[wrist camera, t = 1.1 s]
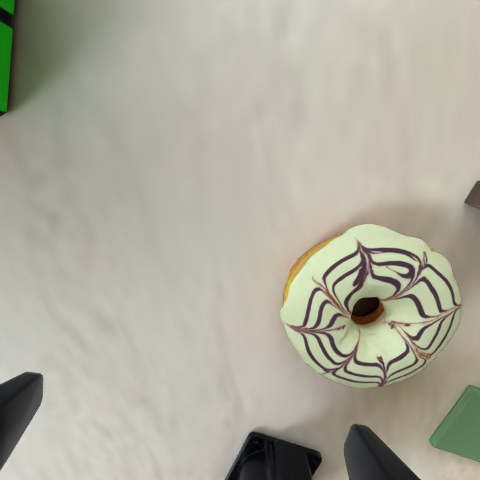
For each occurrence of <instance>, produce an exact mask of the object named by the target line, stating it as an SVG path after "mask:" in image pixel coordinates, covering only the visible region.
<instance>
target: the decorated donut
mask: <svg viewBox="0 0 480 480" xmlns="http://www.w3.org/2000/svg"><path fill="white" fill-rule="evenodd" d="M364 297H368V298H370V297H378V299H379V307H378V308H377V310H375V311H373V312H372V313H370V314H368V315H366V316H362V317H361V316H360V317H357V316H353V315H351V314H352V310H353V306H354V305H355V303H356V302H357V301H358V300H359V299H361V298H364ZM461 305H462V302H461V294H460V291H459V288H458V284H457V282H456V280H455V277H454V275H453V272H452V268H451V264H450V263H449V261H448V260H447V259H446V258H445V257H444V256H443V255H442V254H439V253H436V252H435V251H434V250H432V249H431V248H429V247H428V246H427V244H426V243H425V242H424V241H423V240H422V239H418V238H414V237H409V236H405V235H402V234H400V233H398V232H395V231H392V230H390V229H388V228H386V227H384V226H378V225H374V224H363V225H358V226H355V227H353V228H350V229H348V230H347V231H346V232H345V233H343V234H340V235H336V236H334V237H332V238H330V239H328V240H325V241H323V242H322V243H319V244H318V245H316V246H315V247H313V248H311V249H310V250H309V251H307V252H306V253H305V254H304V255H302V256H301V257H300V258H299V259H298V260H297V262H296V264H295V265H294V266H293V267H292V268H291V271H290V274H289V277H288V280H287V282H286V285H285V288H284V293H283V308H282V309H281V311H280V316H281V319H282V321H283V324H284V326H285V329H286V332H287V335H288V338H289V340H290V341H291V343H292V344H293V346H294V348H295V349H297V351H298V353H299V354H300V356H301V357H302V358H303V359H304V360H305V362H306V363H307V364H308V365H309V366H310V367H312V368H313V369H314V370H315V371H317V372H318V373H319V374H321V375H323V376H325V377H327V378H329V379H331V380H333V381H335V382H337V383H341V384H344V385H348V386H350V387H354V388H368V387H381V386H387V385H390V384H392V383H396V382H400V381H403V380H405V379H407V378H409V377H411V376H412V375H414V374H416V373H418V372H420V371H422V370H423V369H424V368H425V367H426V366H428V364H429V363H430V362H431V361H432V360H433V359H434V358H435V357H436V356H437V355H438V353H439V352H440V351H441V350H442V349H443V348H444V347H445V345H446V344H447V343H448V342H449V340H450V339H451V338H452V336H453V335H454V333H455V331H456V330H457V328H458V326H459V324H460V316H461V315H460V308H461Z"/></svg>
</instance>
